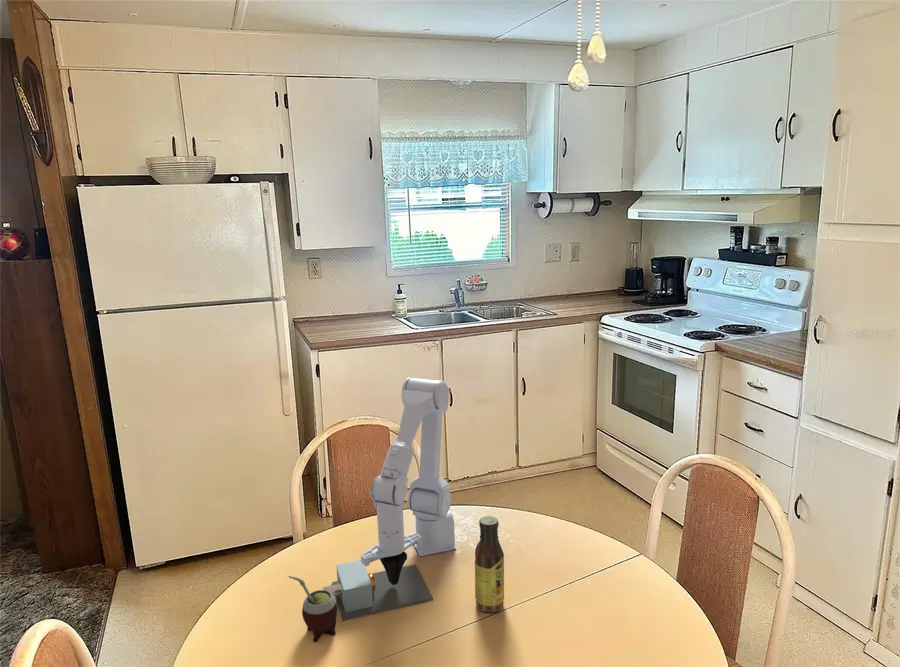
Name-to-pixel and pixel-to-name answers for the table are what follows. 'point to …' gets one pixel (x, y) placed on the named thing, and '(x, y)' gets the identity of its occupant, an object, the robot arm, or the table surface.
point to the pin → (337, 588)
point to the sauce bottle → (489, 567)
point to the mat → (392, 593)
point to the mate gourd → (319, 611)
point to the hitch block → (354, 586)
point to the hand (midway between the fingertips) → (393, 582)
